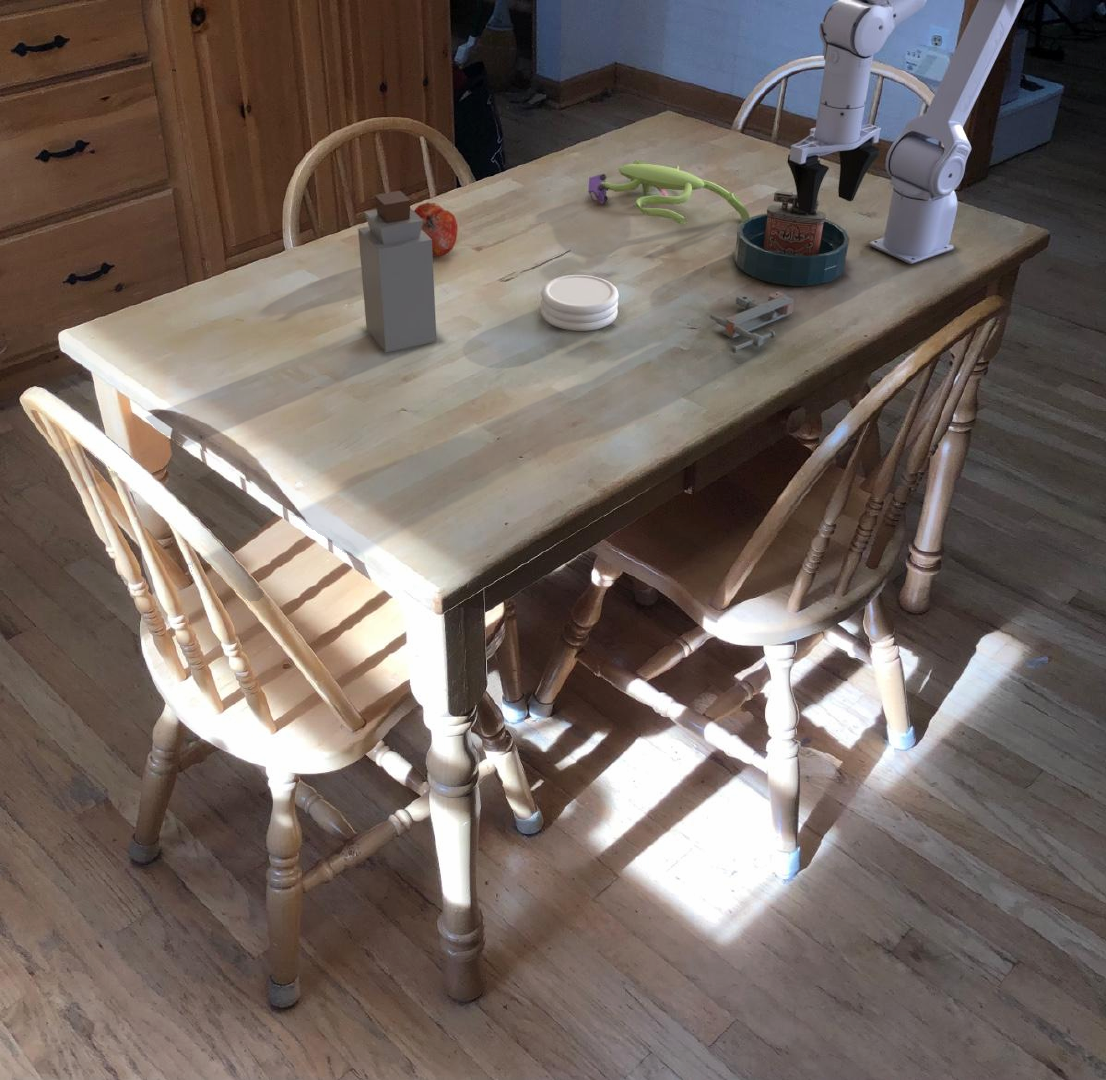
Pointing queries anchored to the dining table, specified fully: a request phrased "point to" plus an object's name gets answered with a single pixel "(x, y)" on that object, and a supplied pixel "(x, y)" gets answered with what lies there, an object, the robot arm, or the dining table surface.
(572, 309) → the coaster
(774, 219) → the lighter
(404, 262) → the perfume bottle
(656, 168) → the figurine
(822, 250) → the bowl
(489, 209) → the dining table surface
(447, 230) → the pomegranate
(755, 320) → the clamp
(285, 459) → the dining table surface
